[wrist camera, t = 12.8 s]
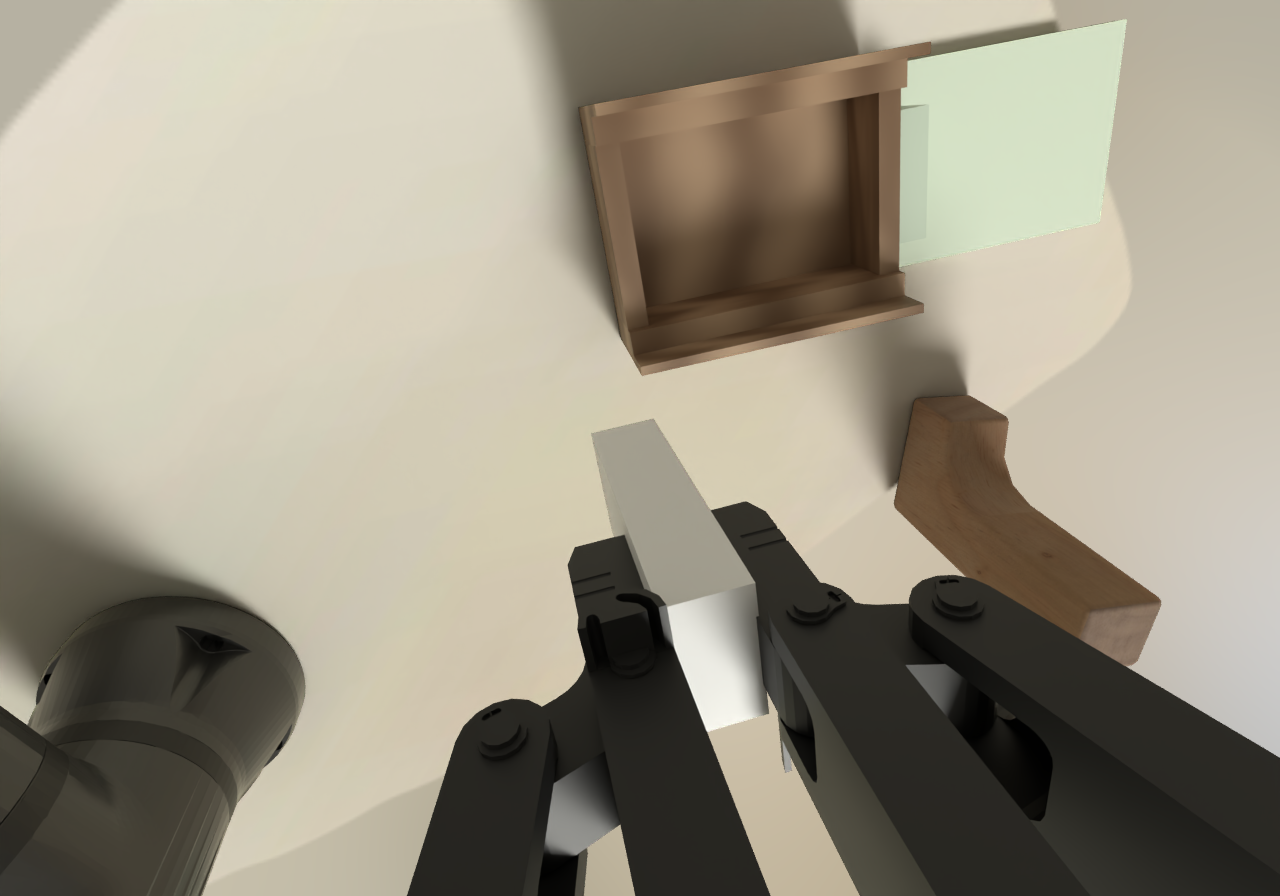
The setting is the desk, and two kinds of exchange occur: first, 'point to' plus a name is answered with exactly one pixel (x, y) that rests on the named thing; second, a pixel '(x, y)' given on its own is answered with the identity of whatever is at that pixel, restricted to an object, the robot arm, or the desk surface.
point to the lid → (1006, 141)
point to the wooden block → (1011, 530)
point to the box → (752, 208)
